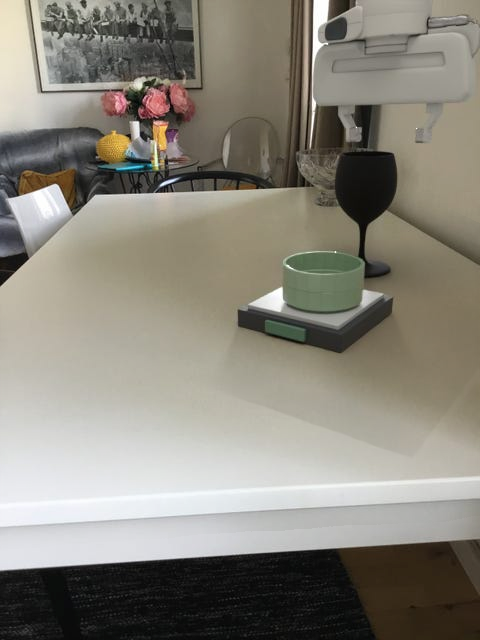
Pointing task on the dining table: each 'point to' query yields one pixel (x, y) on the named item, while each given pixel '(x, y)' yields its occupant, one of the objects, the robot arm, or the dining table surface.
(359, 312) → the scale
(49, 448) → the dining table surface
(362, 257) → the wine glass
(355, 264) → the bowl
